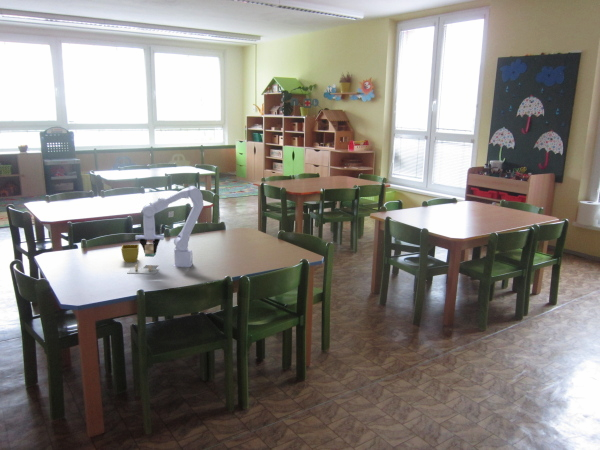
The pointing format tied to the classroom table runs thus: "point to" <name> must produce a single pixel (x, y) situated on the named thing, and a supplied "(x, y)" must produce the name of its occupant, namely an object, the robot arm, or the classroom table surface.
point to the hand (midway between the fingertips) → (150, 252)
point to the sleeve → (149, 250)
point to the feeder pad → (151, 266)
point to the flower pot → (130, 252)
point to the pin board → (142, 270)
